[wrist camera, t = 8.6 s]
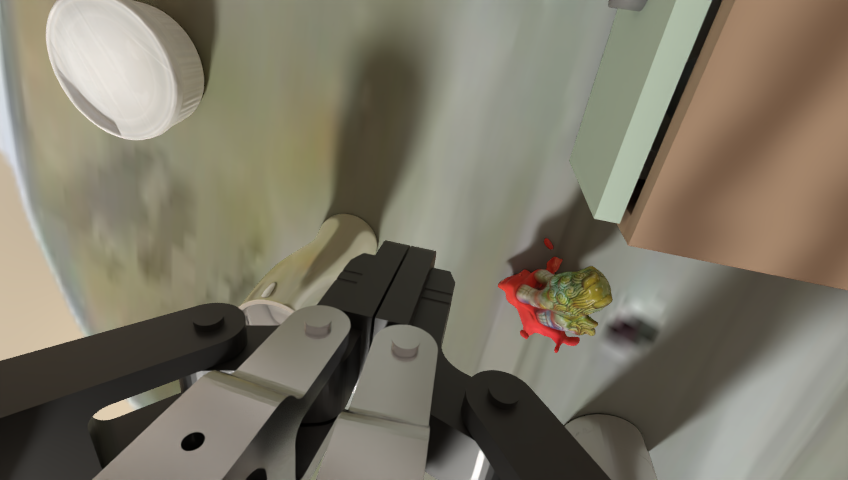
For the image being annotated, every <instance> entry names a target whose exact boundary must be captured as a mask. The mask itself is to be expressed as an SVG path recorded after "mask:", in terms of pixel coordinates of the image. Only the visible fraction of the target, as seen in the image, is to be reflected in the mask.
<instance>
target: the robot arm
mask: <svg viewBox="0 0 848 480" xmlns="http://www.w3.org/2000/svg"><path fill="white" fill-rule="evenodd" d="M435 258H436V251H433V250H428V249H424V248H419V247H414V246H411V247H410V246H409V245H405V244H400V243H395V242H391V241H386V240H385V241H384V242H383V244H382V245H381V247H380V249H379V250H378V252H377V253H376V255H372V254H367V253H362V254H361V255H359V256H357V257H355V258H353V259H351V260H350V261H349V262H348V264H347V265H346V266H345V268H344V269H343V272H341V273H340V274H339V276H338V277H337V280H335V281H334V282H333V284H332V285H331V286H330V288H329V289H328V290H327V292H326V293H325V294H324V296H323V297H322V298H321V300H320V301H319V302H318V304H317V305H314V306H308V307H304V308H301V309H299V310H297V311H295V312H293V313H292V314H291V315H290V316H289V317H288V318H287V319H286V320H285V321H284V322H283V323H282V324H281V325H246V316H245V314H244V312H243V311H242V310H241V309H240V308H238V307H236V306H234V305H230V304H225V303H209V304H203V305H199V306H196V307H192V308H188V309H185V310H181V311H178V312H174V313H170V314H167V315H163V316H160V317H156V318H153V319H149V320H145V321H142V322H138V323H135V324H131V325H127V326H124V327H120V328H117V329H113V330H109V331H106V332H102V333H99V334H95V335H92V336H88V337H84V338H81V339H77V340H74V341H70V342H66V343H63V344H59V345H56V346H52V347H49V348H45V349H42V350H38V351H34V352H31V353H27V354H24V355H20V356H16V357H13V358H10V359H6V360H2V361H0V480H310V479H311V477H312V476H313V474H314V472H315V470H316V468H317V467H318V465H319V463H320V461H321V459H322V457H323V456H324V454H325V456H324V458H323V461H322V464H321V467H320V469H319V472H318V475H317V477H316V480H424V474H425V472H427V473H428V474H430V475H431V476H433V477H434V478H436V479H437V480H658V479H657V476H656V473H655V470H654V467H653V464H652V461H651V458H650V455H649V452H648V451H647V449H646V446H645V443H644V440H643V437H642V434H641V433H640V431H639V430H638V429H637V428H636V427H635V426H634V425H633V424H631V423H630V422H628V421H626V420H624V419H621V418H618V417H615V416H610V415H601V414H595V415H587V416H583V417H579V418H577V419H574V420H572V421H571V422H569V423H568V424H566V425H565V426H564V425H563V424H562V423H561V422H560V421H559V420H558V419H557V418H556V416H555V415H554V414H553V413H552V412H551V411H550V410H549V408H548V407H547V406H546V405H545V404H544V403H543V402H542V401H541V399H540V398H539V397H538V396H537V395H536V394H535V393H534V391H533V390H532V389H531V388H530V387H529V386H528V385H527V384H526V383H525V382H523V381H522V380H521V379H519V378H517V377H516V376H513V375H511V374H509V373H506V372H502V371H495V370H489V371H483V372H480V373H477V374H476V375H474V376H473V377H471V376H469V375H467V374H465V373H463V372H461V371H460V370H458V369H456V368H455V367H454V366H453V365H452V364H451V363H450V362H449V361H448V360H447V359H446V358H445V356H444V354H443V352H442V349H441V347H442V343H443V338H444V334H445V330H446V325H447V321H448V316H449V311H450V306H451V301H452V296H453V291H454V286H455V281H454V279H453V277H452V275H451V272H450V271H445V270H440V269H436V268H434V264H435ZM178 379H179V382H180V388H181V393H179V394H176V395H174V396H171V397H168V398H166V399H163V400H161V401H158V402H156V403H153V404H151V405H148V406H145V407H143V408H140V409H138V410H135V411H133V412H130V413H128V414H125V415H122V416H120V417H117V418H115V419H111V420H104V421H103V420H97V419H95V418H93V417H92V416H93V415H94V414H95V413H97V412H98V411H99V410H100V409H102V408H104V407H106V406H108V405H111V404H113V403H116V402H119V401H121V400H124V399H127V398H129V397H132V396H135V395H138V394H140V393H143V392H146V391H148V390H151V389H154V388H156V387H159V386H162V385H164V384H167V383H170V382H172V381H175V380H178ZM352 393H354V396H353V398H352V401H351V404H350V407H349V409H348V410H346V409H345V407H346V405H347V403H348V401H349V398H350V396H351V394H352ZM325 452H326V453H325Z"/></svg>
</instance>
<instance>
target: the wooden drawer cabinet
mask: <svg viewBox="0 0 848 480" xmlns="http://www.w3.org/2000/svg"><path fill="white" fill-rule="evenodd" d="M617 225H618V227H619V229H620V231H621V233H622V235H623V237H624V238H625V240H626V242H627V244H628V245H629V246H634V247H639V248H644V249H649V250H653V251H658V252H663V253H668V254H673V255H678V256H683V257H688V258H693V259H697V260H702V261H707V262H712V263H717V264H722V265H727V266H732V267H737V268H741V269H746V270H751V271H756V272H761V273H766V274H771V275H776V276H781V277H785V278H790V279H795V280H800V281H805V282H810V283H815V284H820V285H824V286H829V287H834V288H839V289H844V290H848V0H722V3H721V5H720V7H719V10H718V12H717V14H716V17H715V19H714V21H713V24H712V26H711V28H710V31H709V33H708V36H707V38H706V40H705V43H704V45H703V47H702V50H701V52H700V54H699V57H698V59H697V61H696V64H695V66H694V69H693V71H692V73H691V76H690V78H689V80H688V83H687V85H686V87H685V90H684V92H683V94H682V97H681V99H680V101H679V104H678V106H677V109H676V111H675V113H674V116H673V118H672V120H671V123H670V125H669V127H668V130H667V132H666V134H665V137H664V139H663V142H662V144H661V146H660V149H659V151H658V153H657V156H656V158H655V160H654V163H653V165H652V167H651V170H650V172H649V175H648V177H647V179H646V180H645V179H639V178H638V180H637V183H636V185H635V188H634V190H633V193H632V195H631V197H630V200H629V202H628V205H627V207H626V209H625V212H624V214H623V217H622V219H621V222H620V224H618V223H617Z"/></svg>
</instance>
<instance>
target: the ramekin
mask: <svg viewBox="0 0 848 480" xmlns="http://www.w3.org/2000/svg"><path fill="white" fill-rule="evenodd" d="M46 43H47V50H48V54H49V59H50V62H51V65H52V68H53V70H54V73H55V75H56V77H57V79H58V81H59V83H60V85H61V87H62V88H63V90H64V91H65V93H66V94H67V96H68V97H69V99H70V100H71V101H72V103H73V104H74V105H75V106H76V107H77V109H78V110H79V111H80V112H81V113H82V114H83V115H84V116H85V117H86V118H88V119H89V120H90V121H91V122H92V123H94V124H95V125H96V126H98V127H99V128H101V129H103V130H104V131H106V132H108V133H110V134H112V135H114V136H117V137H120V138H124V139H130V140H144V139H149V138H153V137H156V136H159V135H161V134H163V133H164V132H166V131H167V130H168V129H169V128H170V127H171V126H173V125H175V124H177V123H179V122H180V121H182V120H184V119H185V118H187V117H189V116H190V115H191V114H192V113H193V112H194V111H195V110H196V108H197V106H198V105H199V103H200V101H201V99H202V95H203V90H204V73H203V68H202V64H201V60H200V57H199V55H198V52H197V50H196V48H195V46H194V44H193V42H192V41H191V39H190V38H189V36H188V35H187V34H186V32H185V31H184V30H183V28H182V27H181V26H180V25H179V24H178V23H177V22H176V21H175V20H173V19H172V18H171V17H170V16H169V15H167V14H166V13H164V12H163V11H161V10H159V9H157V8H156V7H153V6H150V5H148V4H145V3H141V2H138V1H134V0H57V1H56V2H55V3H54V5H53V7H52V9H51V11H50V13H49V16H48V20H47V25H46Z"/></svg>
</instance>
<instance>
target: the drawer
mask: <svg viewBox="0 0 848 480" xmlns="http://www.w3.org/2000/svg"><path fill="white" fill-rule="evenodd" d="M721 3H722V0H609V3H608V6H609V7H611V8H618V10H617V13H616V16H615V19H614V23H613V26H612V29H611V32H610V35H609V38H608V41H607V44H606V48H605V51H604V54H603V57H602V60H601V63H600V66H599V69H598V73H597V76H596V79H595V82H594V85H593V88H592V91H591V94H590V98H589V101H588V104H587V107H586V110H585V113H584V116H583V119H582V123H581V126H580V129H579V132H578V135H577V138H576V141H575V144H574V148H573V151H572V154H571V157H570V160H569V161H570V164H571V166H572V168H573V171H574V173H575V175H576V178H577V180H578V183H579V185H580V187H581V190H582V192H583V194H584V197H585V199H586V201H587V204H588V206H589V208H590V211H591V213H592V215H593V218H594V219H598V220H603V221H608V222H613V223H618V224H620V222H621V219H622V217H623V214H624V212H625V209H626V207H627V205H628V202H629V200H630V197H631V195H632V193H633V190H634V188H635V185H636V183H637V180H638V178H639V179H645V180H646V179H647V177H648V175H649V172H650V170H651V167H652V165H653V163H654V160H655V158H656V156H657V153H658V151H659V149H660V146H661V144H662V142H663V139H664V137H665V134H666V132H667V130H668V127H669V125H670V123H671V120H672V118H673V116H674V113H675V111H676V109H677V106H678V104H679V101H680V99H681V97H682V94H683V92H684V90H685V87H686V85H687V83H688V80H689V78H690V76H691V73H692V71H693V69H694V66H695V64H696V61H697V59H698V57H699V54H700V52H701V50H702V47H703V45H704V43H705V40H706V38H707V36H708V33H709V31H710V28H711V26H712V24H713V21H714V19H715V17H716V14H717V12H718V10H719V7H720V5H721Z"/></svg>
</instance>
